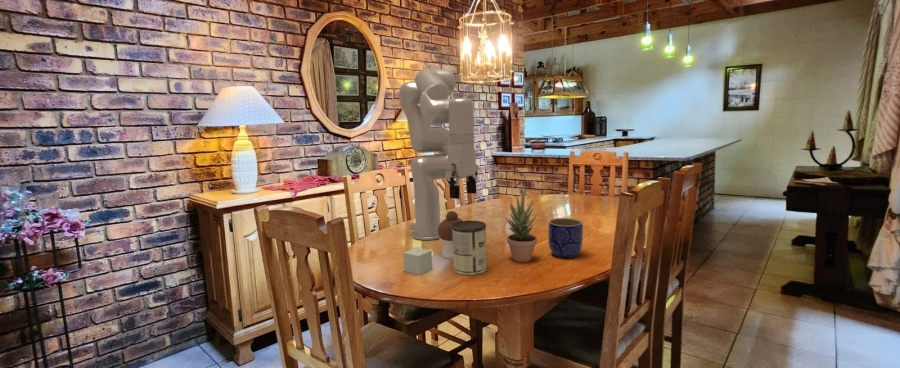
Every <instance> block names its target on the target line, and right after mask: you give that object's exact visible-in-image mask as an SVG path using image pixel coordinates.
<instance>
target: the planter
mask: <svg viewBox="0 0 900 368" xmlns="http://www.w3.org/2000/svg"><path fill="white" fill-rule="evenodd" d="M583 229H584V222H583V221H582V220H580V219H576V218H569V217H568V218H567V217H560V218H558V217H557V218H552V219H549V220H548V235H547V237H548V248H549V250H550V252H551V253H552V254H553V255H554V256H556V257H558V258H565V259H570V258H575V257H577V256H578V255H579V254H580V253H581V251H582V249H583V239H584V237H583V236H584V230H583Z"/></svg>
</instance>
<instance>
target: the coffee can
mask: <svg viewBox="0 0 900 368" xmlns="http://www.w3.org/2000/svg"><path fill="white" fill-rule="evenodd" d="M452 233H453V259H452V260H453V272H454V273H457V274H459V275H463V276H465V275H467V276H472V275H474V276H475V275H479V274H483V273H485V272H486V271H487V270H488V267H487V235H486V234H487V224H486V222H484V221H480V220H462V221H460V222H456V223H454V224H452Z"/></svg>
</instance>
